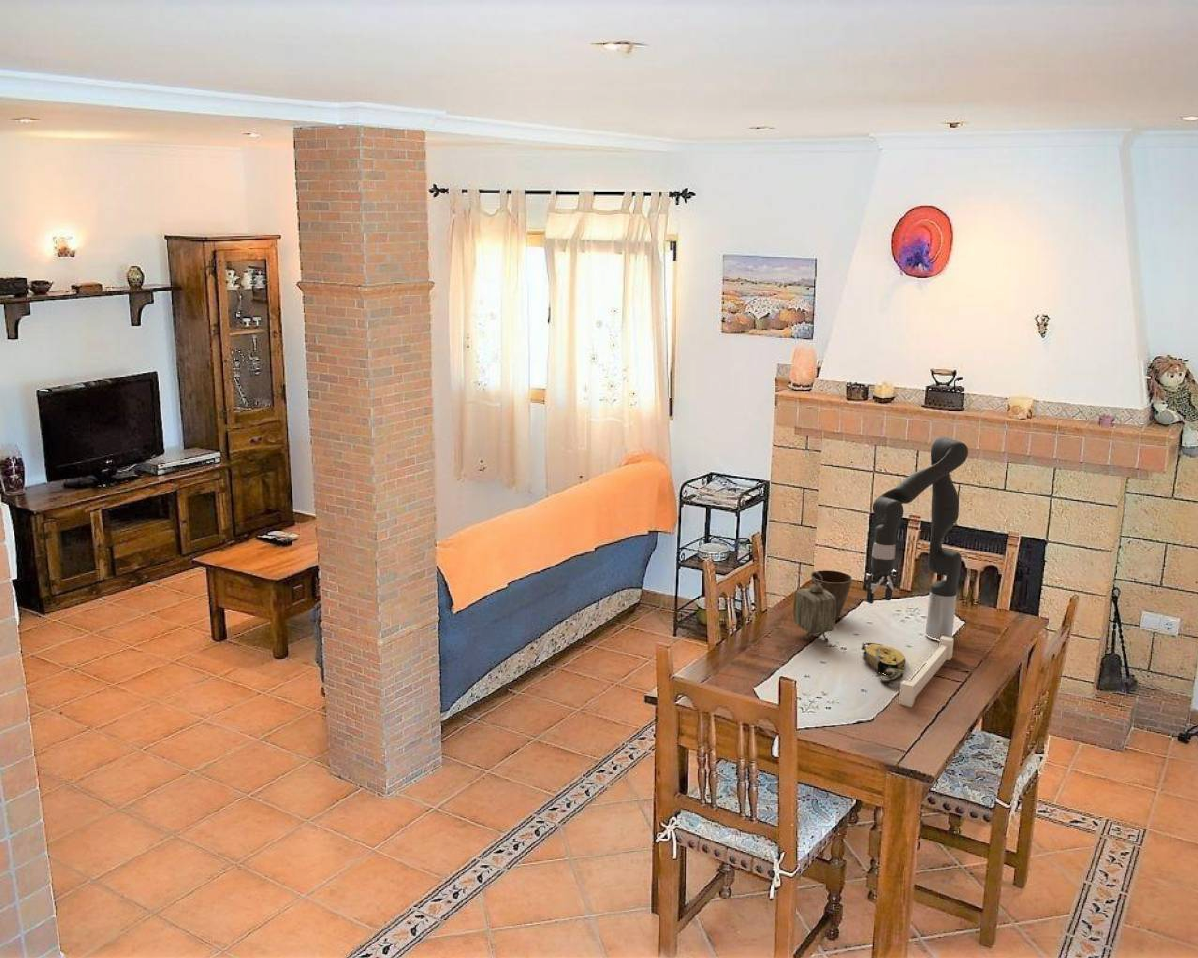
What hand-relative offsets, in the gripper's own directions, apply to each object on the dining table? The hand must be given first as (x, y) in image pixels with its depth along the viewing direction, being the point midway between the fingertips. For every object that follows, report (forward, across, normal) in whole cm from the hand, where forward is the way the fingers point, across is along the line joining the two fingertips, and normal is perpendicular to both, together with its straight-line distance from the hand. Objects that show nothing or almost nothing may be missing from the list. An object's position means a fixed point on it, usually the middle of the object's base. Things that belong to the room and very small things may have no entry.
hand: (878, 601), depth 375 cm
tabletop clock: (+20, +7, -24) cm, 32 cm away
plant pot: (+19, -14, -38) cm, 44 cm away
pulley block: (+21, +4, +9) cm, 24 cm away
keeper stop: (+21, -2, +22) cm, 30 cm away
